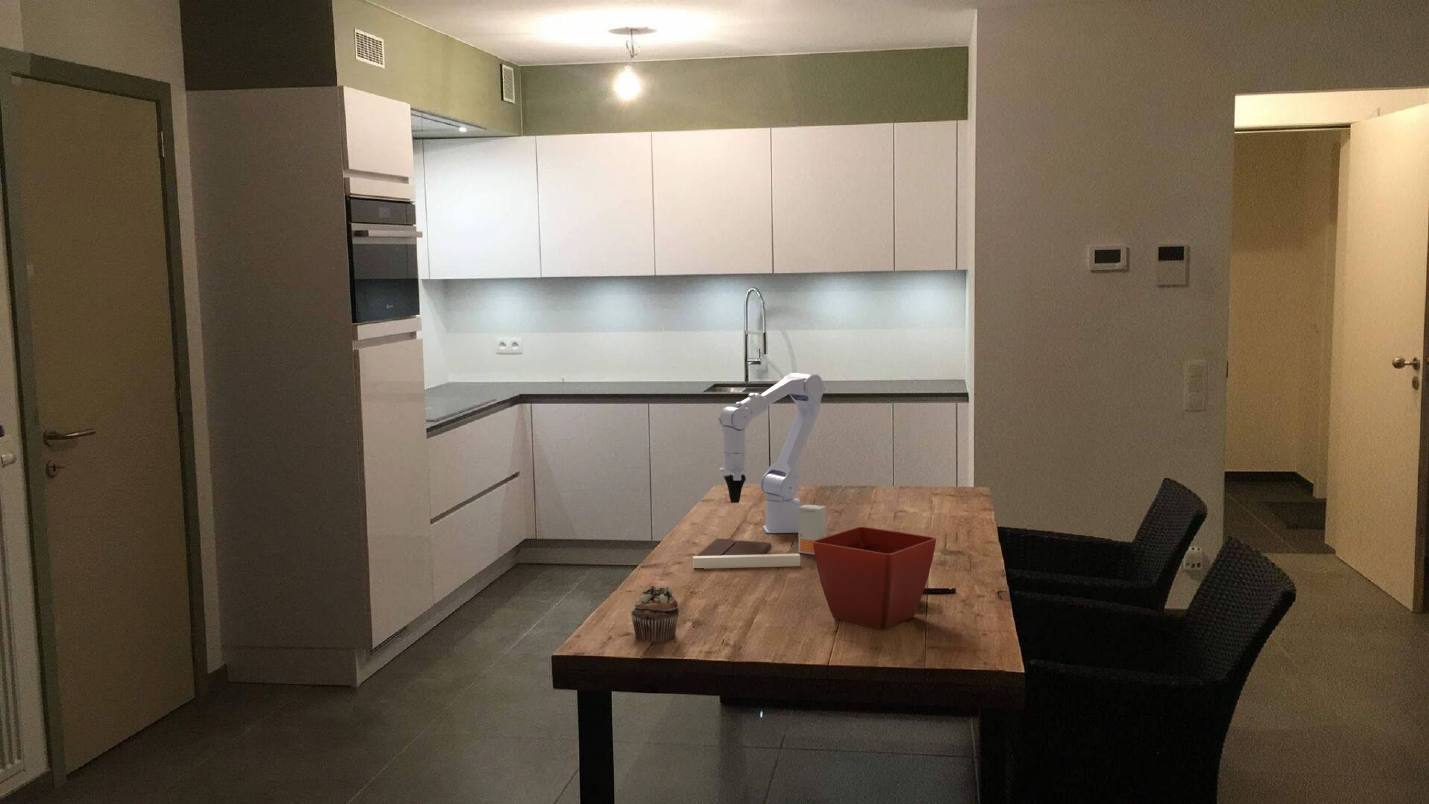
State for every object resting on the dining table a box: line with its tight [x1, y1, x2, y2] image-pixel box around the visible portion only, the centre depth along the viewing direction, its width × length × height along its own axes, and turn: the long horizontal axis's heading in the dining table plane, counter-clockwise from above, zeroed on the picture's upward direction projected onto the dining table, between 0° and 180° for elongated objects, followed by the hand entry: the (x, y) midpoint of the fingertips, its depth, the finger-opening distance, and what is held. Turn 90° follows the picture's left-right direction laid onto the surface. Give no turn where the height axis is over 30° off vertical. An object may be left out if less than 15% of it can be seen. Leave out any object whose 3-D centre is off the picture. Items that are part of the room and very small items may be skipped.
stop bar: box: [692, 553, 801, 569], centre depth 303 cm, size 26×2×3 cm, turn 95°
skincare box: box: [797, 504, 827, 556], centre depth 316 cm, size 6×4×12 cm
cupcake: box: [630, 585, 680, 643], centre depth 249 cm, size 10×10×10 cm
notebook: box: [696, 538, 772, 556], centre depth 316 cm, size 15×20×2 cm
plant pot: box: [813, 526, 937, 630], centre depth 260 cm, size 19×19×17 cm
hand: (734, 502), depth 332 cm, fingers closed
